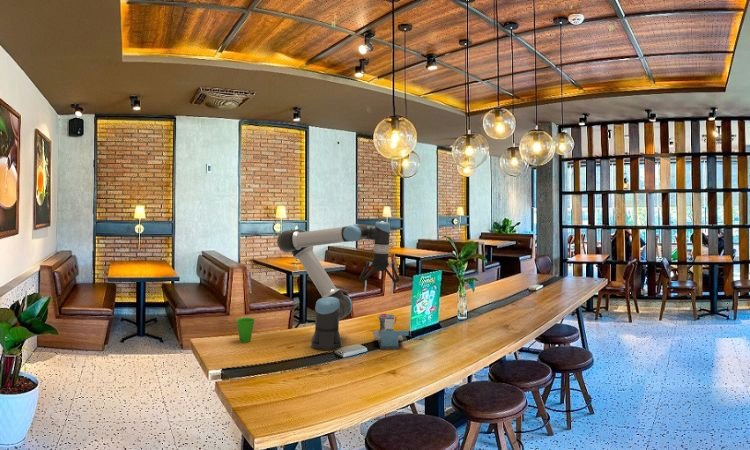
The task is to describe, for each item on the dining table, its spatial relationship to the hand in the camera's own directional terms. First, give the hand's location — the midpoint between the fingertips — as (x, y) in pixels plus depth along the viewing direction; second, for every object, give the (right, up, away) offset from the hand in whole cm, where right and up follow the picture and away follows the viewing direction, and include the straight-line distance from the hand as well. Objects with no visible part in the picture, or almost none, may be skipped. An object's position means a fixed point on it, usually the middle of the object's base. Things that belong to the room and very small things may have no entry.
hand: (378, 294), depth 239 cm
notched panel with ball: (+6, -26, +1) cm, 27 cm away
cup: (-67, -24, 0) cm, 71 cm away
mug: (+5, -25, +20) cm, 32 cm away
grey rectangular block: (+5, -24, -2) cm, 25 cm away
